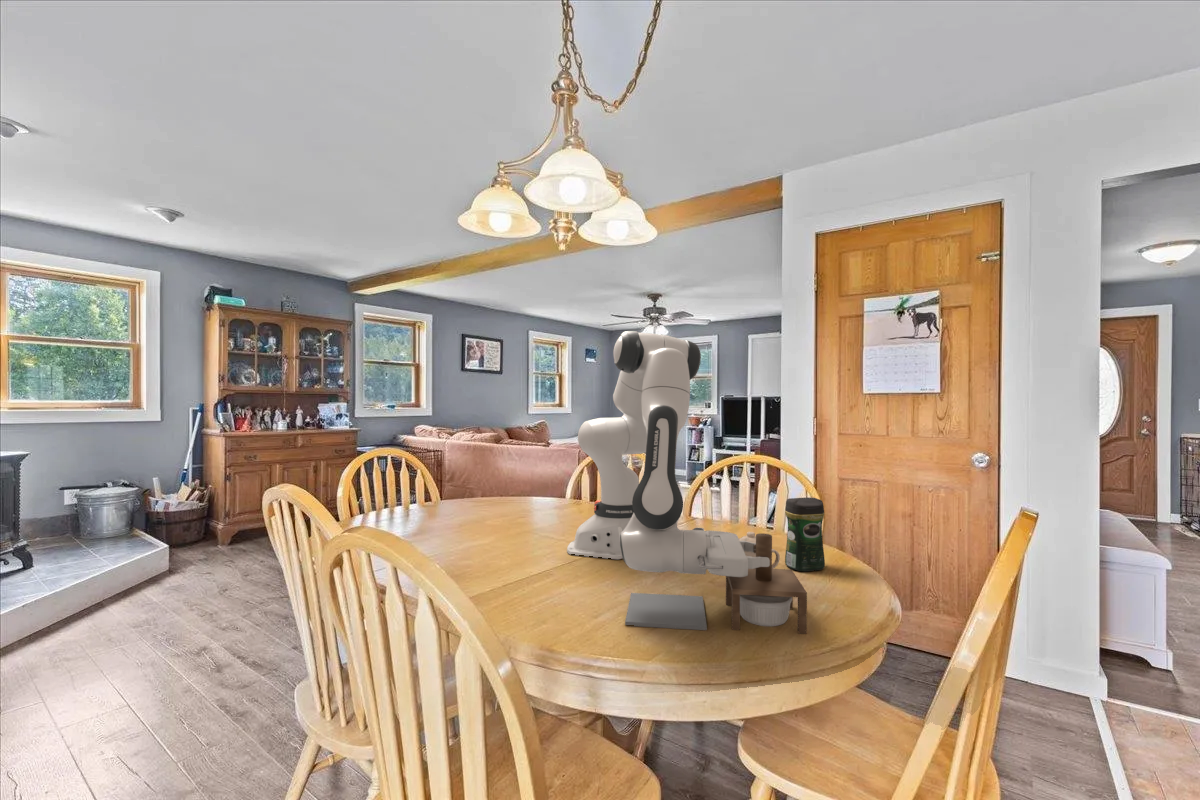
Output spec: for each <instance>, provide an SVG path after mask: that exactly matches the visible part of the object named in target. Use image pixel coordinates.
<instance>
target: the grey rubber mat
mask: <svg viewBox="0 0 1200 800" xmlns="http://www.w3.org/2000/svg"><path fill="white" fill-rule="evenodd" d="M706 618H707V617H706V610H705V605H704V597H703V596H702V595H683V594H681V595H680V594H664V593H662V594H661V593H659V594H658V593H645V592H643V593H642V592H630V597H629V601H628V607H627V611H626V617H625V621H624V626H625V625H634V626H633V627H641V628H642V627H643V628H660V629H661V628H663V629H678V630H692V631H693V630H696V631H707V630H708V626H707V619H706Z"/></svg>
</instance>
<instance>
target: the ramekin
mask: <svg viewBox="0 0 1200 800" xmlns="http://www.w3.org/2000/svg"><path fill="white" fill-rule="evenodd" d="M791 602H792V597H780V596H760V595H740V617H741V618H742V619H743V620H744V621H746V622H747V623H750V624H752V625H757V626H761V627H778V626H781V625H783V624H785V623H786V622H787V620H788V619H789V615H790V610H791V608H790V603H791Z"/></svg>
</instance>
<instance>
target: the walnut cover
mask: <svg viewBox="0 0 1200 800" xmlns="http://www.w3.org/2000/svg"><path fill="white" fill-rule="evenodd" d="M755 536H756V557H759V556H767V557H768V558H769V560H770V566H769V567H758V568H754V569H748V575H747V576H745V577H730V576H725V604H726V606H731V630H732V631H740V630H741V629H740V627H741V615H740V595H760V596H780V597H792V602H791V603H790V610H791V609H792V610H793V609H794V608H793V606H794V605H793V602H794V600H793V599H794V598H797V632H798V634H799V635H800V634H801V635H802V634H803V635H804V634H805V635H806V634H808V633H807V632H808V630H807V629H808V627H807V626H808V625H807V624H808V619H807V618H808V617H807V616H808V612H807V611H808V592H807V591H806V589H805V587H804V586H803V584H802V583H801V582H800V580H799V578H798V577H797V575H796V574H795V572H794V571H793V569H791V568H787V569H786V568H773V569H772V564H773V552H772V549H773V535H772V534H769V533H760V532H759V533H755Z"/></svg>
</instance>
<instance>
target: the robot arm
mask: <svg viewBox="0 0 1200 800" xmlns="http://www.w3.org/2000/svg"><path fill="white" fill-rule="evenodd" d="M614 343H615V344H614V347H613V362H614V365H615V366H616V368H617V370H620V371H619V374H618V378H617V382H616V385H615V389H614V391H613V394H612V400H613V404H614V406H615V407H616V408H617V410H619V411H620V412H621V413H622V414H623V415H622V416H619V417H598V418H593V419H589V420H585V421H584V422H583V423H582V424H581V426H580V427H579V429H578V432H577V442H578V445H579V447H580V449H581V450H582V452H584V453H585V455H587V456H588V457H590V459H591V460H592V461H593V462H594V464H595V465H596V468H597V470H598V473H599V478H600V480H599V481H600V497H601V500H600V499H597V500H596V501H594V504H593V505H594V506H593V509H594V514H593V515H591V516H590V517H589V518H588V519H586V520H585V521H584V522H582V524H580V525H579V526H578V527H577V529H576V532H575V535H574V536H575V537H574V540H572V541H571V542H569V544H568V545H567V549H566V552H567V554H568V555H571V554H575V555H574V556H579V555H584V556H583V557H589V556H593V557H592V558H598V557H602V558H601V559H608V558H611V559H612V560H621V559H622V560H623V562H624V563H625V565H626V566H628V568H629V569H632V570H636V571H642V572H650V573H665V572H677V573H679V574H691V575H706V574H707V571H708V573H709V574H711V575H716V576H720V577H721V576H722V577H726V576H730V577H745V576H747V575H748V569H754V568H758V567H769V566H770V560H769V558H768V557H767V556H759V557H751V556H746V554H745V551H748V552H753V553H756V543H752V542H748V541H741V540H739V539H738V538H739V536H738V535H737V534H736V533H734V532H728V531H721V530H720V531H719V530H705V528H704V527H694V528H692V529H680V528H678V522H679V520H680V518H681V516H682V513H683V510H684V500H683V499H684V498H683V495H682V492H681V489H680V487H679V484H678V482H677V478H676V461H677V460H676V459H677V443H678V438H679V434H680V432H681V429H683V427H684V426H685V425H686V422H687V418H688V414H689V409H690V400H691V399H690V398H691V397H690V396H691V380H692V379H693V378H694V377H695V376H697V374H698V371H699V369H700V366H701V360H702V355H701V354H702V353H701V349H700V348H699V346H698V344H696V343H695V342H693V341H690V340H687V339H681V338H677V337H674V336H671V335H666V334H661V333H660V334H659V333H657V334H656V333H651V332H638V331H637V330H627V331H625V330H624V331H623V332H622V333H620V334H619V336H618V338H617V339H616V342H614ZM641 454H645V459H644V468H643V469H644V470H643V475H642V478H641V480H640V478H639V476H638V474H637V473H636V472H635V471H634V470H633V469H631V468H630V467H628V466H626V465H625V464H624V461H623V456H624V455H641ZM611 559H610V560H611Z"/></svg>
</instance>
